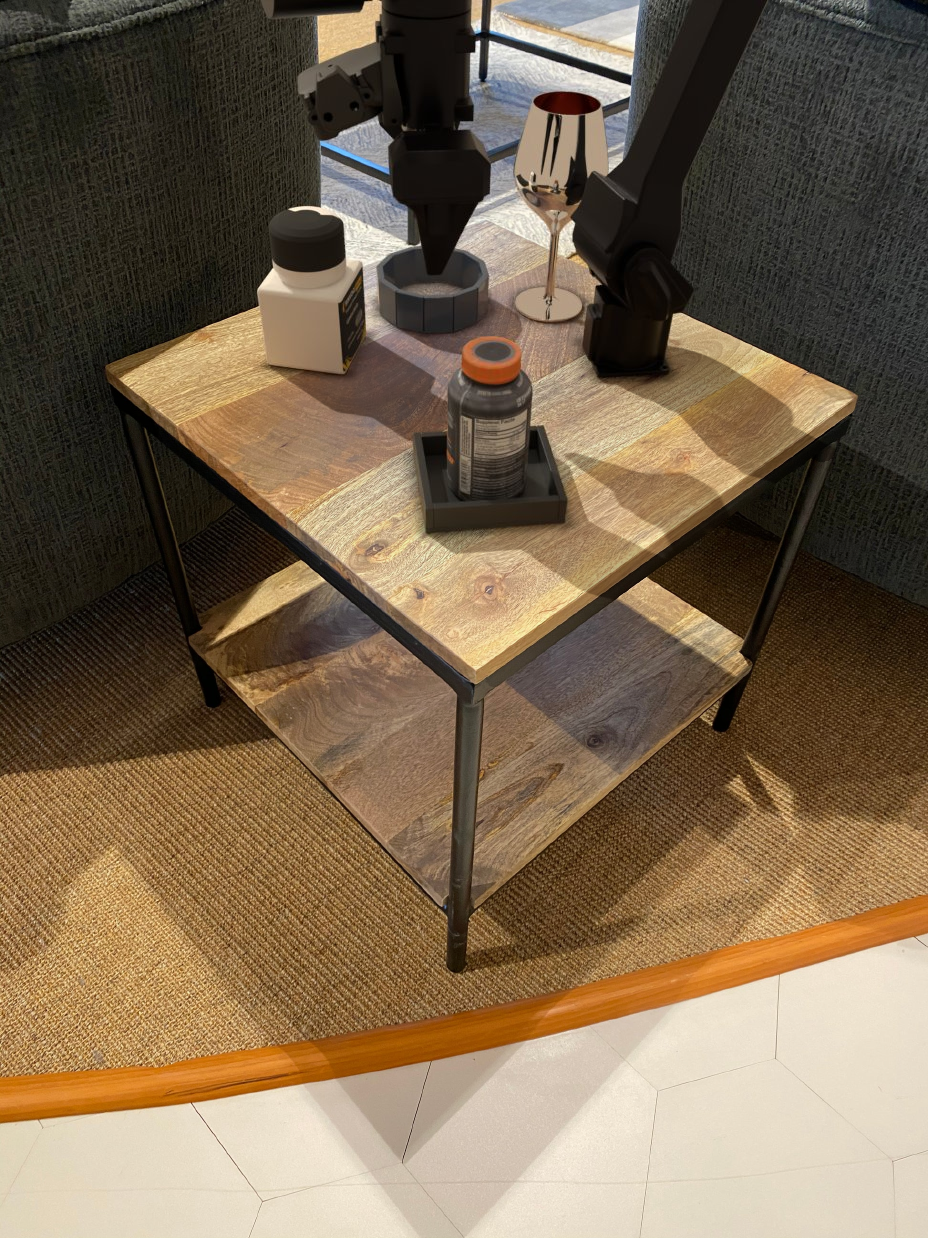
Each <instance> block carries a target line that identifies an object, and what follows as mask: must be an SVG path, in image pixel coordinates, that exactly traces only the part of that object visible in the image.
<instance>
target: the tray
mask: <svg viewBox="0 0 928 1238" xmlns="http://www.w3.org/2000/svg"><path fill="white" fill-rule="evenodd" d="M545 428H546V427H545V426H544V425H542V424H541V425H530V436H529V449H528V464H527V472H526V483H525V486H524V489H523V491H522V492H521V493H520V494H519V495H518V496H517V497H516V498H509V499H494V500H479V501H464V500H462V499H460V498H459V497H457V496H456V495H455V494H454V493H453V492H452V491H451V489H450V487H449V485H448V482H447V430H443V431H439V430H438V431H423V432H413V433H412V455H413V456H412V457H413V462H414V469H415V475H416V481H417V488H418V494H419V501H420V506H421V513H422V519H423V524H424V525H423V526H424V530H425V531H424V532H425V533H426V534H431V533H442V532H444V533H445V532H457V531H458V532H459V531H473V530H485V529H497V528H498V529H500V528H512V527H513V528H514V527H530V526H542V525H556V524H565V523H566V517H567V510H568V501H569V499H568V495H567V493H566V490H565V487H564V484H563V480H562V478H561V475H560V471H559V468H558V464H557V462H556V459H555V456H554V452H553V450H552V447H551V443H550V441H549V438H548V435H547V431H546V429H545Z"/></svg>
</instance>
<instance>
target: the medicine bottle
mask: <svg viewBox="0 0 928 1238" xmlns="http://www.w3.org/2000/svg"><path fill="white" fill-rule="evenodd" d="M267 228H268V237H269V244H270V251H271V260H272V261H271V262H272V267H273V268H272V269H271V270H270V271H269V273H268V274H267V276H266V277H265V278H264V280H263V281H262V282H261V284H259V285H260V286H259V287H258V288H257V291H256V293H257V301H258V308H259V315H260V323H261V328H262V329H261V330H262V336H263V346H264V351H265V358H266V363H267V364H268V365H270V366H275V367H276V366H277V367H284V368H292V369H299V370H306V371H314V372H320V373H321V372H322V373H328V374H336V375H344V374H346V373H347V371H348V370H349V367H350V366H351V364H352V362H353V360H354V358H355V356H356V354H357V352H358V350H359V349H360V347H361V345H362V343H363V342H364V339H365V338H366V335H367V319H366V302H365V299H366V298H365V284H364V281H365V280H364V264H363V262H362V261H361V260H358V259H351V258H350V259H349V258H347V253H346V238H345V223H344V221H343V219H342V218H341V217H340V215H338V214H337V213H335V212H334V211H332V210H329V209H326V208H324V207H323V208H322V207H318V206H311V205H305V206H304V205H303V206H302V205H301V206H296V207H290V208H288V209H285V210H283V211H280V212H279V213H277V214H275V215H274V216H273V217H272V218H271V220H270V221H269V223H268V227H267Z"/></svg>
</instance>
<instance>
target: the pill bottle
mask: <svg viewBox="0 0 928 1238" xmlns="http://www.w3.org/2000/svg"><path fill="white" fill-rule="evenodd" d="M533 391H534V390H533V384H532V381H531V379H530V377H529V375H528V374H527V373H526V372H525V371H524V370H523V369H522V351H521V349H520V347H519V345H518V344H517V343H515V342H514V341H512V340H510V339H508V338H505V337H501V336H495V335H494V336H493V335H492V336H491V335H488V336H487V335H485V336H480V337H476V338H473V339H471V340H469V341H468V342H467V343H466V344H465V345H463V347H462V350H461V362H460V367H459V368H458V369H456V371H454V372H453V374H452V375H451V377H450V378H449V381H448V384H447V391H446V392H447V393H446V395H447V396H446V397H447V398H446V399H447V400H446V431H447V482H448V485H449V487H450V489H451V491H452V492H453V493H454V494H455V495H456V496H457V497H459V498H460V499H462V500H464V501H479V500H494V499H509V498H516V497H517V496H518V495H519V494H520V493H521V492H522V491H523V489H524V486H525V483H526V472H527V464H528V449H529V436H530V426H531V421H532V409H533V407H532V406H533Z"/></svg>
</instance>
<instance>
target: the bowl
mask: <svg viewBox="0 0 928 1238" xmlns="http://www.w3.org/2000/svg"><path fill="white" fill-rule="evenodd" d="M375 269H376V292H377V294H376V295H377V305H378V313H379V315H380V317H382V318H383V319H385V320H386V321H387V322H389V324H391V325H393V326H394V327H396V328H399V329H403V330H407V331H412V332H416V333H420V334H442V333H443V334H444V333H455V332H457V331H460V330H462V329H466V328H468V327H471V326H474V325H476V324H477V323H479V321H480V320H481V319H482V318H483V316H484V315H485V314H486V313H487V312H488V307H489V285H490V284H489V283H490V274H489V271H488V268H487V264H486V262H485V260H483V259H481V258H480V257H478V256H477V255H475V254H473V253H472V252H470V251H469V250H466V249H460V248H456V247H455V249H454V251H453V253H452V255H451V257H450V259H449V261H448V263H447V265H446V267H445V269H444V271H443V273H442V274H441V275H428V274H427V272H426V268H425V263H424V258H423V253H422V248H421V245H413V246H410V247H406V248H403V249H400V250H396V251H394V252H391V253H389V254H388V253H387V255H386V256H385V257H384V258H383V259H382V260H381V261H380V262H379V263H378V264H376V268H375ZM423 283H425V284H426V283H427V284H428V283H442V284H443V283H444V284H447V285H451V286H456V287H460V288H463V289H462V290H459V291H456V292H452V293H441V294H439V293H438V294H423V293H422V294H421V293H417V292H413V291H408V290H404V289H402V288H404V287H408V286H410V285H413V284H423Z"/></svg>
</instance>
